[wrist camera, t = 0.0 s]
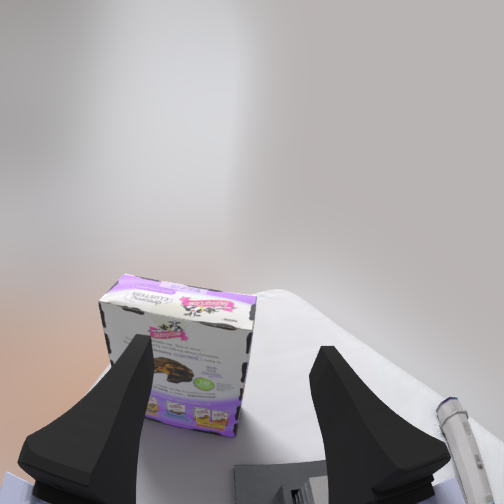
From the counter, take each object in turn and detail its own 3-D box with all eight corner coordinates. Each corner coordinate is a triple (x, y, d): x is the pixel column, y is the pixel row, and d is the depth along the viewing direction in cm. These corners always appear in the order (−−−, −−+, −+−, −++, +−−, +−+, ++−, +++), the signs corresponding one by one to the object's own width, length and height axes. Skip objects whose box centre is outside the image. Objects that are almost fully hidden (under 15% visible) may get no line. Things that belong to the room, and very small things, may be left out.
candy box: (241, 403, 34) (260, 293, 28) (235, 440, 29) (255, 331, 23) (137, 380, 35) (124, 269, 28) (121, 412, 29) (95, 298, 23)
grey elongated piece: (467, 396, 31) (523, 526, 7) (446, 427, 32) (483, 555, 9) (440, 395, 32) (491, 540, 8) (420, 427, 33) (450, 566, 9)
